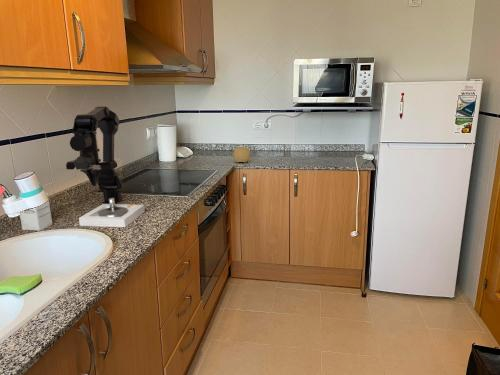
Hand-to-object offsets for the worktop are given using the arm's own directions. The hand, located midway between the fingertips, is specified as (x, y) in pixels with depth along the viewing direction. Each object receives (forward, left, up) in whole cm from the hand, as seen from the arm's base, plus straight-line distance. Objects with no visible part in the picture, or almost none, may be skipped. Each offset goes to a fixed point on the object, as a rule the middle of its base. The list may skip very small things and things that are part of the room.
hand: (94, 186), depth 151 cm
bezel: (+9, -4, -12) cm, 16 cm away
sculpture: (+41, +115, -12) cm, 123 cm away
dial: (+9, -4, -11) cm, 15 cm away
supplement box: (-15, -16, -12) cm, 25 cm away
